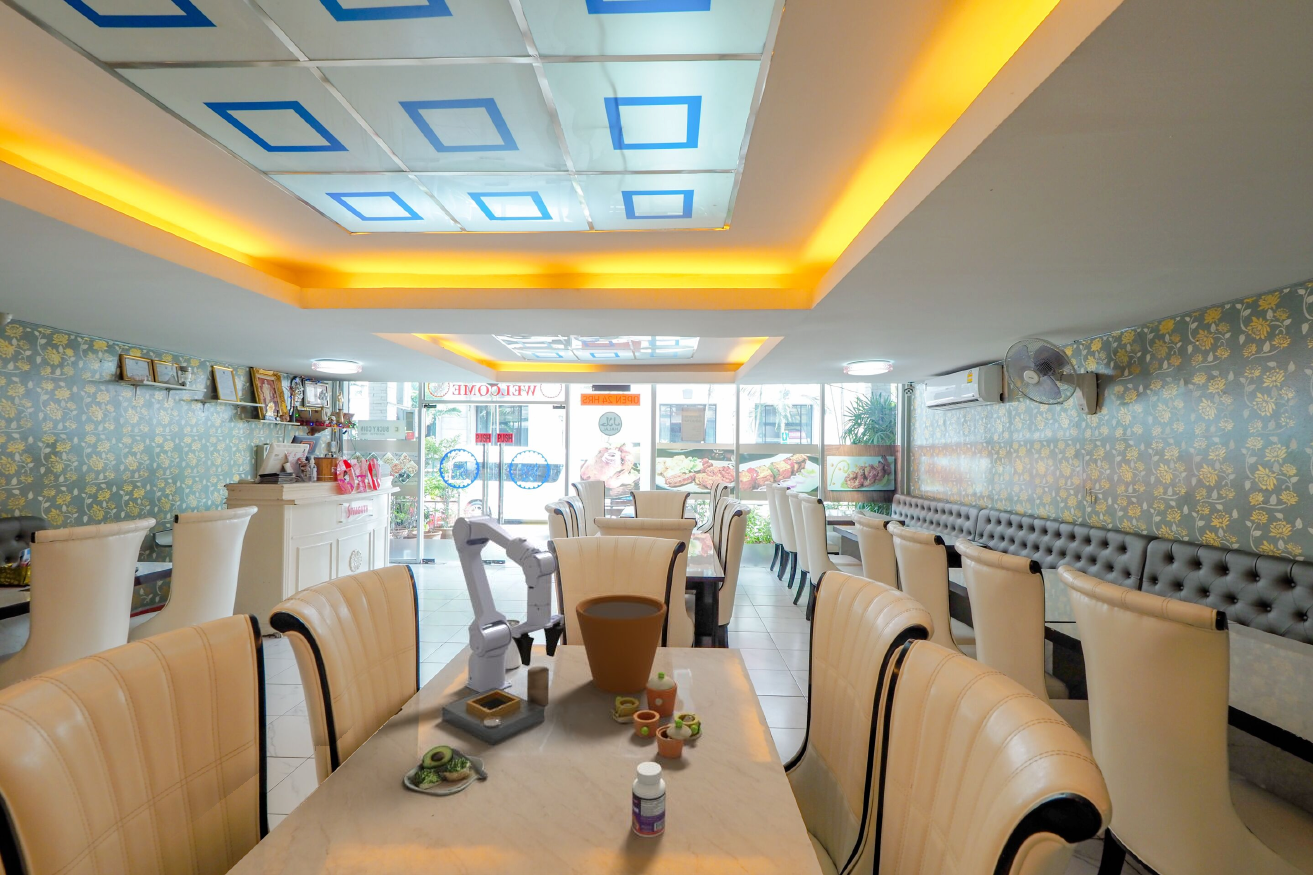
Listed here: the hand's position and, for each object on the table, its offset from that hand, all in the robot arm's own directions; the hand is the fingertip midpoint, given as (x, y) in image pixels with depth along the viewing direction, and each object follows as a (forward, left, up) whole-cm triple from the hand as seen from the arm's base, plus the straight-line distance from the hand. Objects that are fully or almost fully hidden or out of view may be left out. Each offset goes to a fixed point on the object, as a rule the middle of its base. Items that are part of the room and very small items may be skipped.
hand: (538, 660), depth 138 cm
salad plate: (+11, -30, -11) cm, 34 cm away
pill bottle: (+49, -19, -11) cm, 54 cm away
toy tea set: (+31, +9, -11) cm, 34 cm away
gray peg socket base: (-1, -12, -10) cm, 16 cm away
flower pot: (+7, +22, -11) cm, 25 cm away
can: (-25, +11, -11) cm, 29 cm away
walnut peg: (0, 0, -10) cm, 10 cm away
